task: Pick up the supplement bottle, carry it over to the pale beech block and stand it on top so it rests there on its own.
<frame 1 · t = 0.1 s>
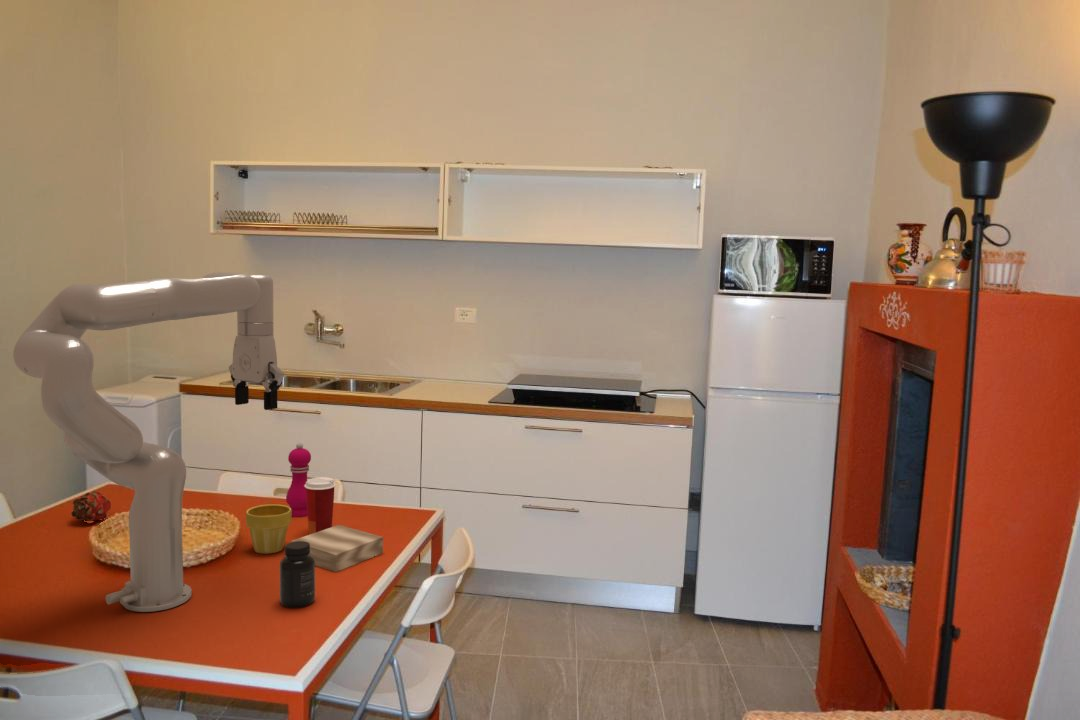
hand: (256, 406, 172), 37 cm above the table, tool pointing down, fingers open, 9 cm apart
dragon fruit: (92, 521, 203), on the table
beech block: (337, 555, 184), on the table
paper cup: (319, 534, 199), on the table
pepper mill: (299, 514, 214), on the table
supplement bottle: (297, 602, 158), on the table
plant pot: (269, 549, 186), on the table
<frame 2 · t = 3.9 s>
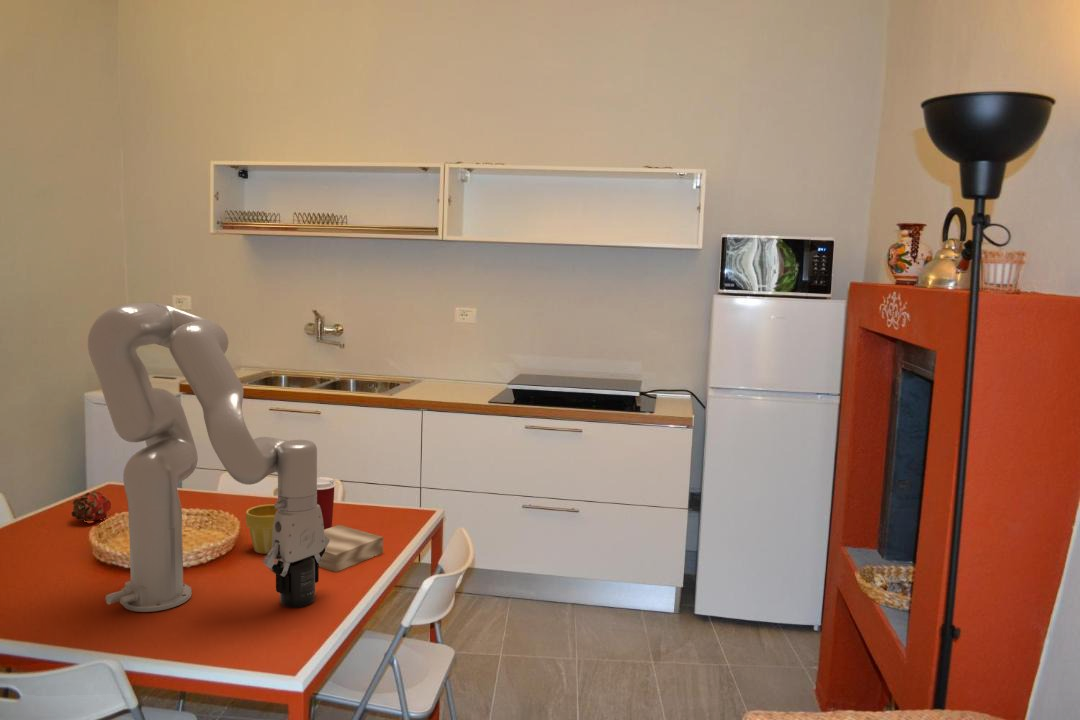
hand: (297, 586, 157), 3 cm above the table, tool pointing down, fingers closed on supplement bottle, 6 cm apart
supplement bottle: (297, 602, 158), on the table, touching gripper
everything else where it was.
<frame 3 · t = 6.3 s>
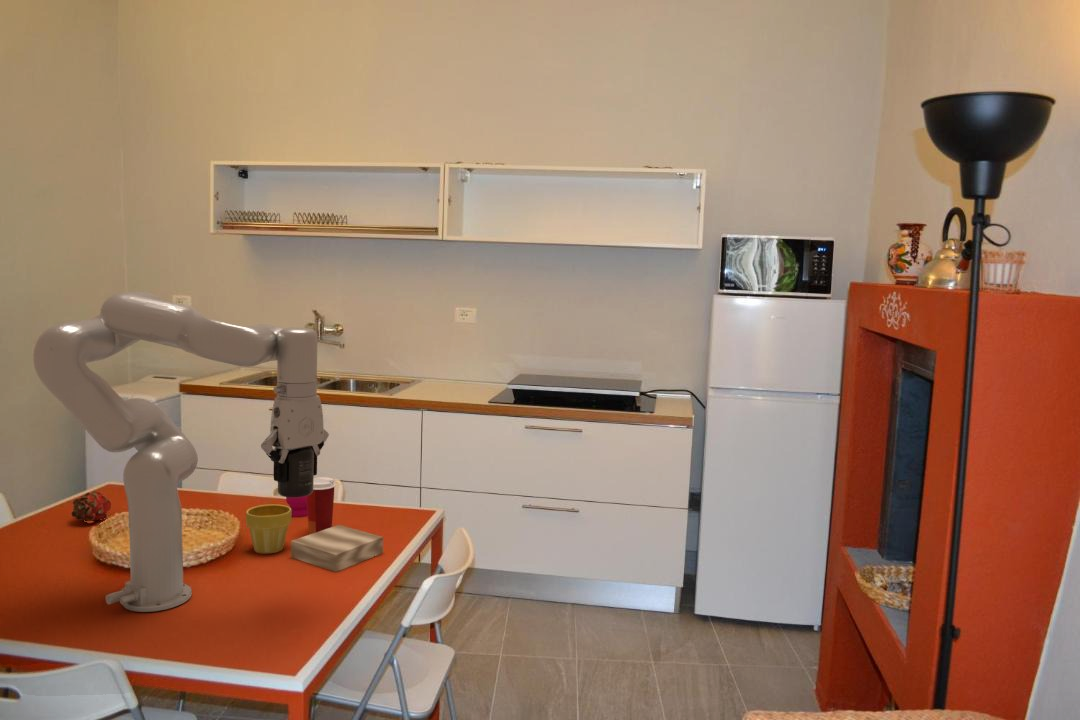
hand: (295, 477, 155), 26 cm above the table, tool pointing down, fingers closed on supplement bottle, 6 cm apart
supplement bottle: (295, 494, 155), point 23 cm above the table, touching gripper
everything else where it was.
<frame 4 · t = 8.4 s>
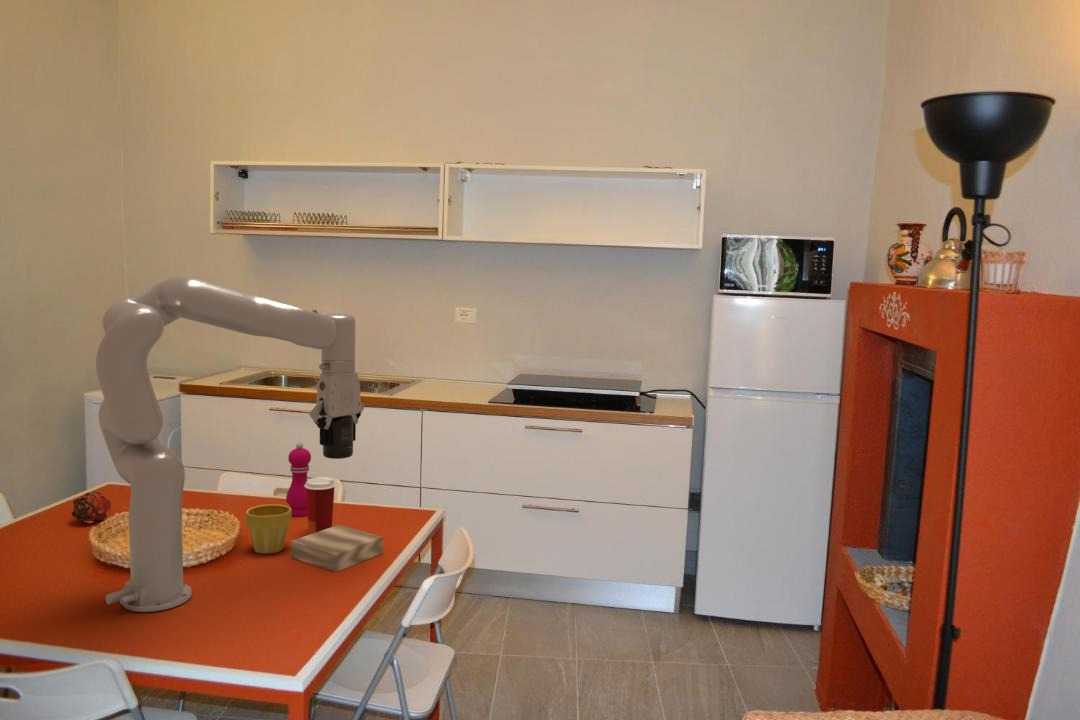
hand: (337, 442, 181), 28 cm above the table, tool pointing down, fingers closed on supplement bottle, 6 cm apart
supplement bottle: (338, 456, 181), point 24 cm above the table, touching gripper
everything else where it was.
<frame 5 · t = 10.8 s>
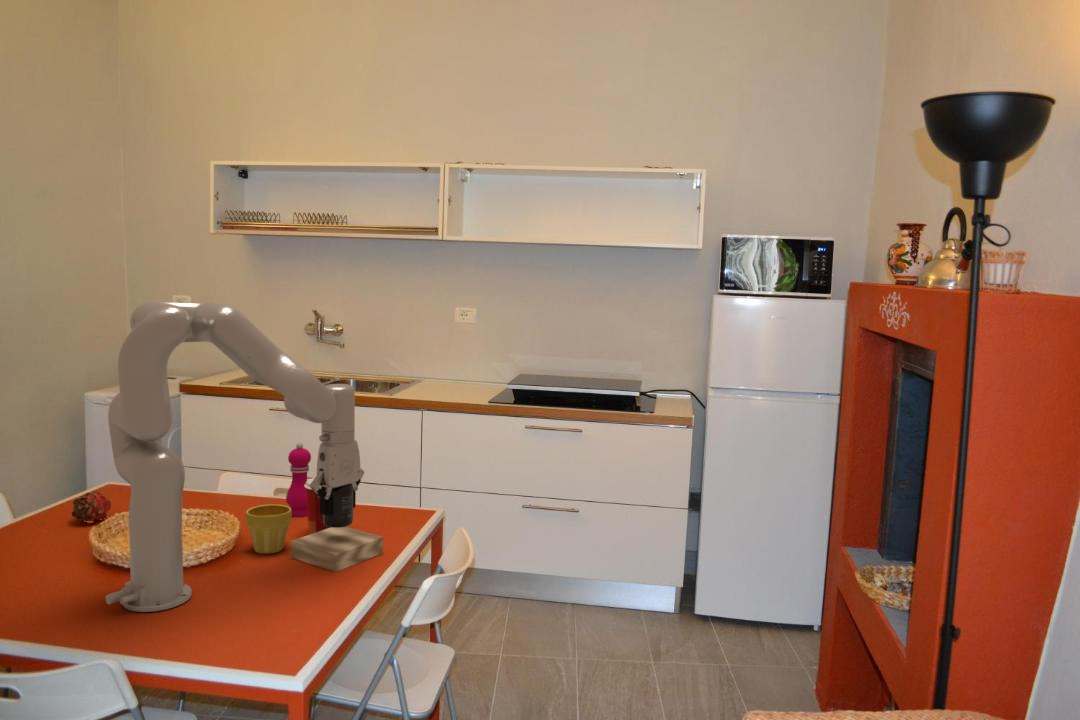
hand: (338, 510, 183), 11 cm above the table, tool pointing down, fingers closed on supplement bottle, 6 cm apart
supplement bottle: (338, 524, 183), point 8 cm above the table, touching gripper
everything else where it was.
when the fingers open (8 cm above the table, at t = 13.0 s): supplement bottle stays where it is, resting on beech block.
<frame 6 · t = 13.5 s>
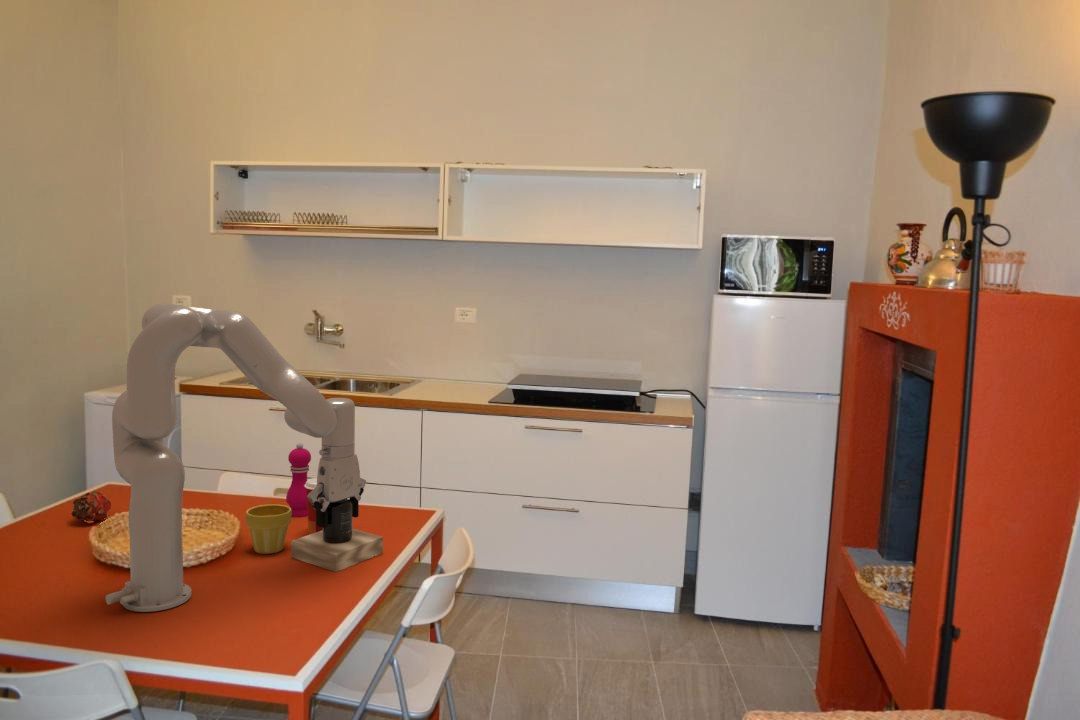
hand: (337, 521, 183), 8 cm above the table, tool pointing down, fingers open, 9 cm apart
supplement bottle: (337, 540, 183), point 4 cm above the table, touching beech block
everything else where it was.
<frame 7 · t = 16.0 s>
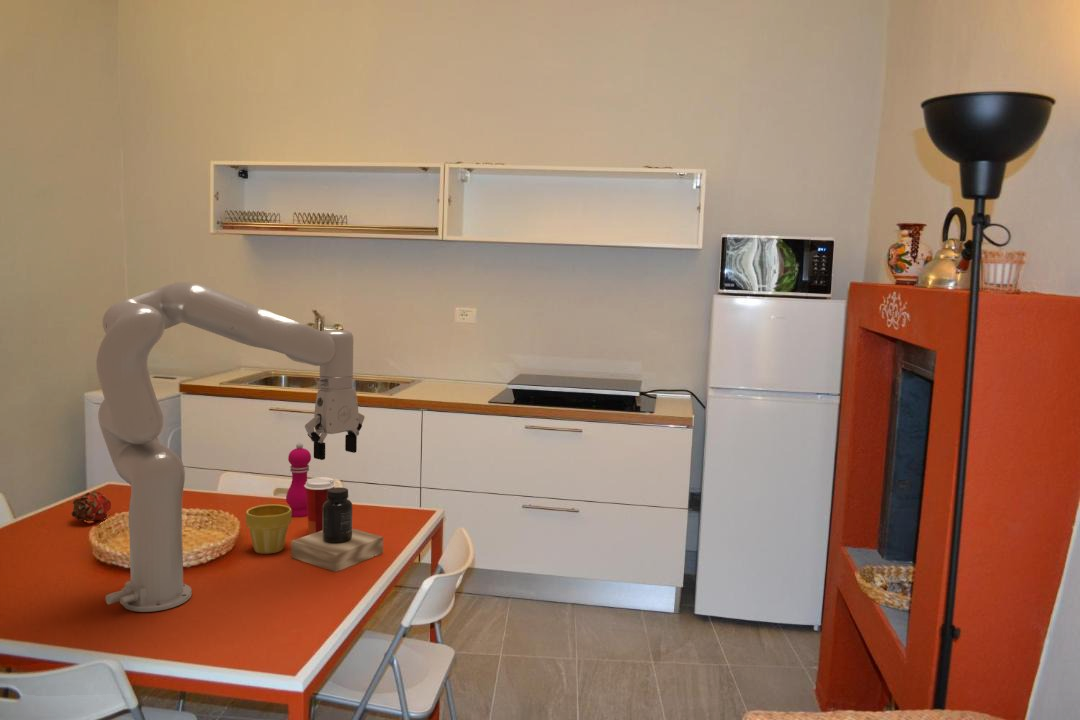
hand: (335, 455, 181), 24 cm above the table, tool pointing down, fingers open, 9 cm apart
nothing on the table moved.
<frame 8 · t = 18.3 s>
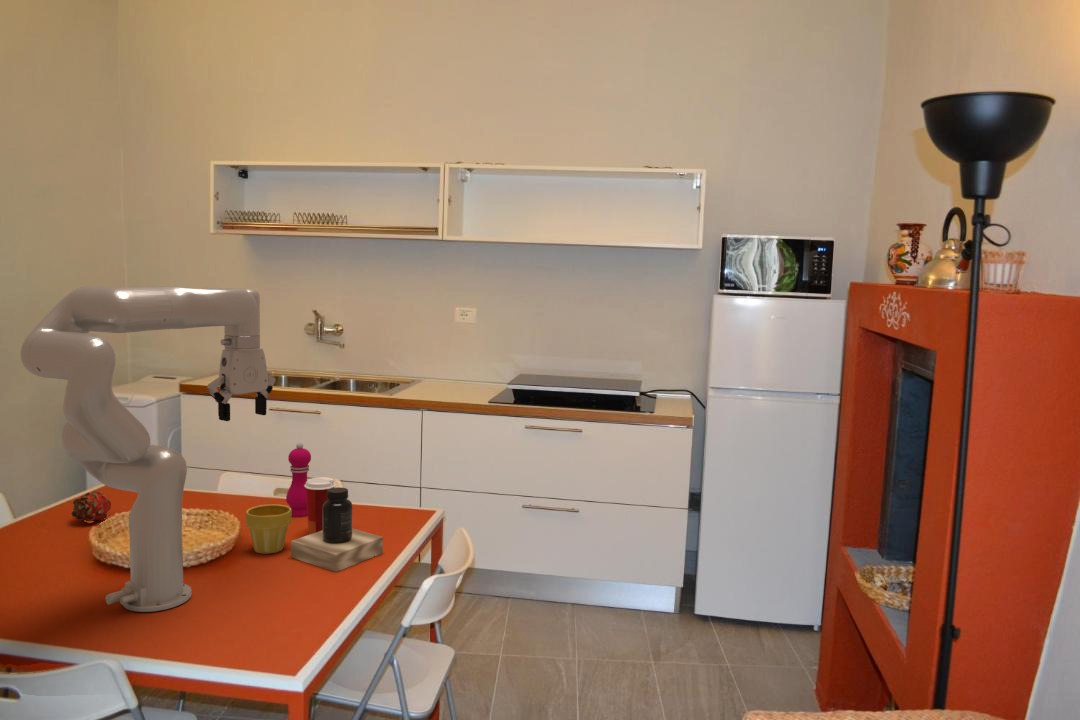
hand: (243, 417, 177), 33 cm above the table, tool pointing down, fingers open, 9 cm apart
nothing on the table moved.
at the end: supplement bottle inside the target area on the beech block (0.2 cm from its centre), point 3.8 cm above the beech block's base; supplement bottle tilted 0°; supplement bottle touching beech block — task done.
